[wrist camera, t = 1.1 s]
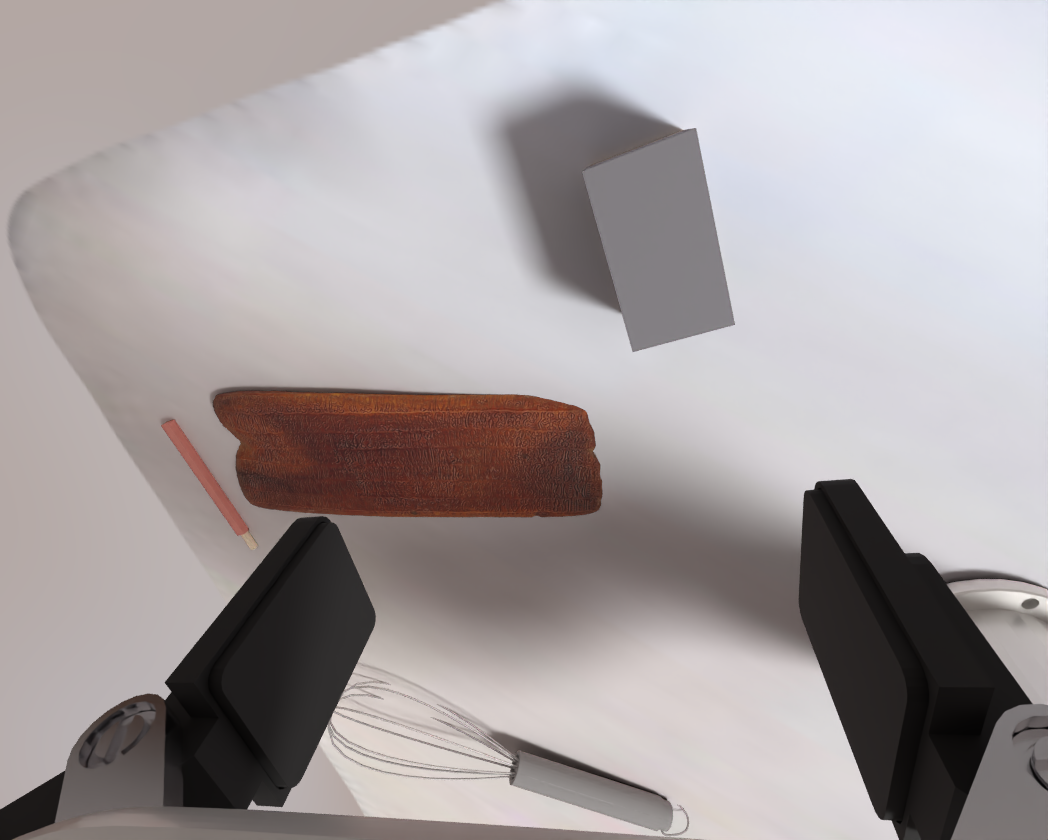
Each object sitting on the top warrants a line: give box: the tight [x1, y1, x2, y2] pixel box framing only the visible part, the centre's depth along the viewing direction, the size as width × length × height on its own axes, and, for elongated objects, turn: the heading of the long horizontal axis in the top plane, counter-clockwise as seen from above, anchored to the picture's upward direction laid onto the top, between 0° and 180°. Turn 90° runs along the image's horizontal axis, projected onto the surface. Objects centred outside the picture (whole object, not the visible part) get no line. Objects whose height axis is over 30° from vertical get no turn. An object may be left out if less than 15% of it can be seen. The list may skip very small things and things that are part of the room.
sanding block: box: [582, 128, 735, 352], centre depth 25 cm, size 4×8×6 cm, turn 20°
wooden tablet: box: [213, 391, 602, 517], centre depth 36 cm, size 27×10×2 cm, turn 94°
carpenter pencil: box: [161, 420, 258, 550], centre depth 40 cm, size 1×12×1 cm, turn 21°
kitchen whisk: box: [328, 681, 689, 836], centre depth 47 cm, size 6×34×6 cm, turn 70°
